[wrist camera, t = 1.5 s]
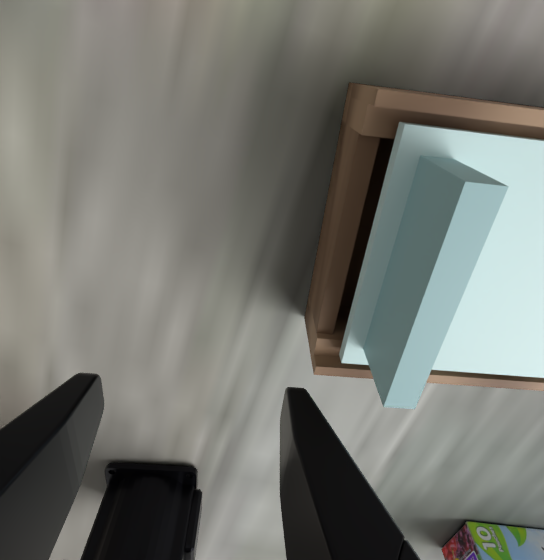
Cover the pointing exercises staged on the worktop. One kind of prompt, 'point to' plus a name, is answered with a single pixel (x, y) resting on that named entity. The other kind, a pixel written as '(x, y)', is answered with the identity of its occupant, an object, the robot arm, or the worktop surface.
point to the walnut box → (364, 200)
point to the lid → (452, 262)
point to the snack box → (495, 543)
